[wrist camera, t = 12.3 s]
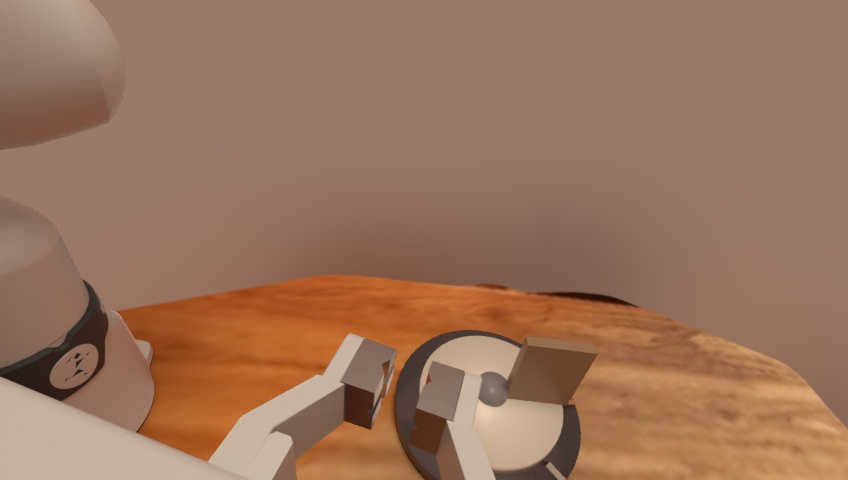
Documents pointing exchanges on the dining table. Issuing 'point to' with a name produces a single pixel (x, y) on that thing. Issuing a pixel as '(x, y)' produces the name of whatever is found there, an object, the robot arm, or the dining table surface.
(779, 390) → the dining table surface
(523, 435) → the dial
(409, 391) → the dial housing
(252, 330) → the dining table surface
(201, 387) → the dining table surface
